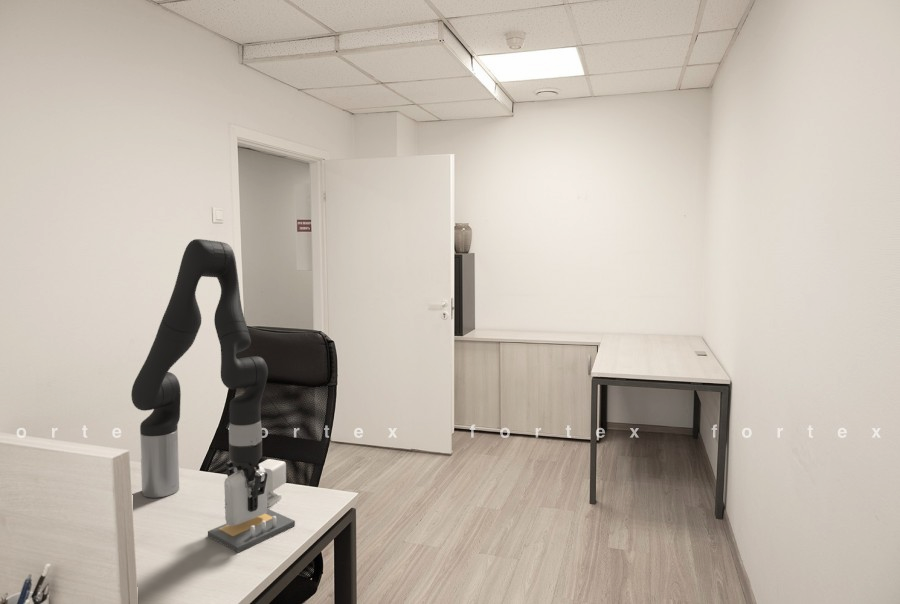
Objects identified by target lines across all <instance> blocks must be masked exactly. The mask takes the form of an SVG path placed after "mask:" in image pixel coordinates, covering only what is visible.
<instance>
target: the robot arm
mask: <svg viewBox="0 0 900 604" xmlns="http://www.w3.org/2000/svg"><path fill="white" fill-rule="evenodd" d="M185 247H186V248H184V249H185V250H184V252H183V255H182V258H181V262H180V265H179V269H178V273H177V275H176V279H175V280H176V281H175V283H174V288H173V290H172V292H171V296H170V298H169V302H168V304H167V307H166V309H165V311H164V313H163V316H162V318H161V320H160V324H159V327H158V329H157V333H156V335H155V337H154V341H153V343H152V345H151V348H150V349H149V353H148V354H147V357H146V359H145V360H144V363H143V365H142V366H141V368H140V371H139V373H138V374H137V376H136V378H135V379H134V382H133V384H132V388H131V397H130V398H131V401H132V404H133V406H134V408H136V409H137V410H139V411H142V412H143V411H144V412H145V411H152V410H153V411H152V412H151V413H150V414H149V416H148V417H146V418H145V419H144V420H142V421H141V423H140V426H139V430H140V431H139V433H140V457H141V458H140V470H141V472H140V475H141V491H142V496H143V497H146V498H152V499H153V498H154V499H155V498H164V497H168V496H171V495H172V494H175V493H177V492H178V491H179V490H180V468H179V466H180V465H179V464H180V463H179V437H178V434H179V432H178V431H179V430H178V424H179V421H180V418H181V399H182V398H181V396H182V395H181V394H182V392H181V385H180V381H179V379H178V377H177V376H176V375H175V374H174V373H172V372H169V371H170V369H171V368H172V367H173V366H174V365H175V364H176V363H177V361H179V360H180V359H181V358H182V357H183V356H184V355H185V354H186V353H187V351H189V349H190V348H191V347H192V345H194V343H195V340H196V338H197V335H198V333H199V330H200V328H201V325H202V313H201V310H200V307H199V305H198V302H197V297H196V292H197V287H198V285H199V284H198V283H199V282H200V280H201V278H202V277H203V278H205V277H206V278H216V279H217V280H218V283H219V286H220V297H219V300H218V303H217V306H216V308H215V312H214V319H213V321H214V327H215V331H216V335H217V338H218V341H219V345H220V346H219V347H220V378H221V382H222V384H223V385H224V386H225V387H226V388H227V389H229V390H238V389H243V388H246V389H245V391H244V392H243V393H242V394H240V395H238V396H235V397H233V398H232V399H231V400H230V402H229V427H228V454H229V455H228V456H229V457H228V458H229V460H230V461H227V462H225V470H226V475H227V477H229V476H230V475H232V474H233V473H235V472H238V471H240V470H241V475H242V476H243V477H244V479H245V488H247V492H248V496H249V497H248V511H250V512H252V511H255V510H257V508H258V496H259V495H261V494H264V491H265V486H266V481H267V472H264V473H262V472H261V471H260V468H259V464H260V463H259V461H260V459H261V458H262V457H263V428H262V420H261V418H262V417H261V413H262V412H261V404H262V399H263V396H264V391H265V388H266V384H267V380H268V375H269V368H268V365H267V363H266V362H267V361H265V359H264V358H263V357H262V356H258V355H256V356H247V357H240V358H239V357H237V354H238V353H240V352H243V351H245V350H247V349H249V347H250V346H251V343H252V339H251V336H250V333H249V329H248V326H247V322H246V318H245V316H244V311H243V308H242V301H241V292H240V284H239V283H240V282H239V277H238V269H237V268H238V267H237V261H236V256H235V252H234V250H233V248H232V246H231V245H230V244H229V243H227V242H222V241H218V240H217V241H216V240H210V239H202V238H199V239H198V238H195V239H193V240H191V241H189V242H188V244H187V245H186V246H185ZM253 480H255V482H253V483H250V484H249V482H250V481H253ZM252 486H254V488H253V491H252V489H251V487H252ZM259 488H260V490H259Z"/></svg>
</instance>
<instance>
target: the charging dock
mask: <svg viewBox="0 0 900 604" xmlns="http://www.w3.org/2000/svg"><path fill="white" fill-rule="evenodd" d="M295 526H296V521H295V520H294V519H291V518H290V517H287V516H285V515H282V514H280V513H279V512H276V511H273V510H272V509H270V508H267V513H265V514H263V515H261V516H258V517H256V518H253V519H251V520H248V521H246V522H243V523H241V524H238V525H235V526H229V525H227V524H226V523H224V524H221V525H219V526H217V527H215V528H213V529H210V530H208V531H207V537H209V538H210V539H213V541H217V542H218V543H220V544H221V543H222V545H223V544H224V545H223V546H225V545H226V546H225V547H227V548H228V549H231V550H232V549H233V550H232V551H234V552H236V553H240V552H242V551H244V550H247V549H249V548H250V546H251V547H253V546H255V545H257V544H258V543H259V544H260V543H261V542H263V541H266V540H267V539H269V538H272V537H274V536H276V535H278V534H281V533H282V532H285V531H286V530H288V529H290V528H292V527H295ZM254 544H255V545H254ZM252 545H253V546H252Z"/></svg>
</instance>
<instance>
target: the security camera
mask: <svg viewBox="0 0 900 604" xmlns="http://www.w3.org/2000/svg"><path fill="white" fill-rule="evenodd" d="M258 464H259V467H262V468H264V469H265V472H267V508H270V507H272V506H273V505H274V504H276V503H278V502H279V501H281V500H282V493H276V492H274V491H276V489H278V488H280V487H282V486H283V485H285V484H286V483H287V463H286V462H285V461H282V460H276V459H272V458H271V459H270V458H267V459H266V460H264V461H261V462H260V463H258Z"/></svg>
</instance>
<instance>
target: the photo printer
mask: <svg viewBox="0 0 900 604" xmlns="http://www.w3.org/2000/svg"><path fill="white" fill-rule="evenodd" d="M259 468H260V471H261V472H262V473H264V472H265V469H264V468H262V467H259ZM253 482H255V480H253V481H250V482H249V484H250V483H253ZM223 484H224V485H223V487H224V506H225V507H224V508H225V509H224V513H225V514H224V515H225V516H224V517H225V522H226V523H225V524H227V525H229V526H235V525H238V524H241V523H243V522H246V521H248V520H251V519H253V518H256V517H258V516H261V515H263V514H265V513H267V509H268V507H267V481H266V486H265V491H264V494H261V495H259V496H258V508H257V510H255V511H252V512H250V511H248V497H249V496H248V492H247V488H245V479H244V477H243V476H242V475H241V470H240V471H238V472H235V473H233V474H232V475H230V476H229V477H228V476H227V477H226V478H225V479H224V483H223ZM253 488H254V486H252V487H251V489H252V491H253ZM259 490H260V488H259Z"/></svg>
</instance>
